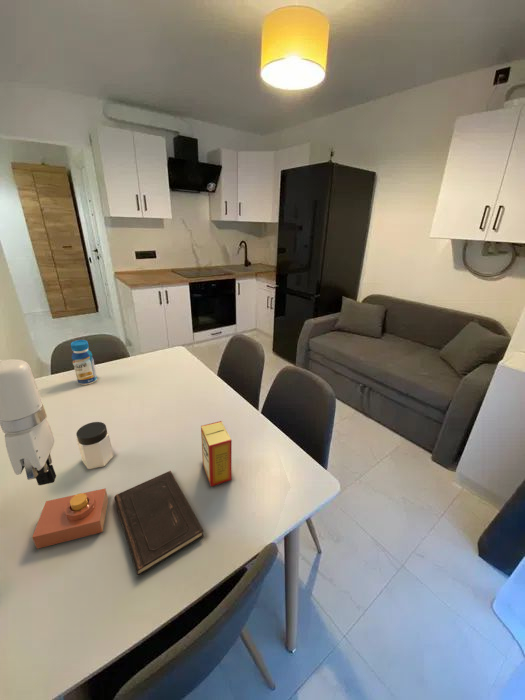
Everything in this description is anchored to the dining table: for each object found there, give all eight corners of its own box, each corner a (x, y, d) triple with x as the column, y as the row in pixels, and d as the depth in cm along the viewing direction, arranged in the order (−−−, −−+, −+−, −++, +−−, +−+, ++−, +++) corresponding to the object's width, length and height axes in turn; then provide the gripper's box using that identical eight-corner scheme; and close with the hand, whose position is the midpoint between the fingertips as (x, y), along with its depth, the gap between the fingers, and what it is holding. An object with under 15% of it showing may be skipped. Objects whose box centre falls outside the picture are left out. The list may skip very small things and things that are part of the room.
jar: (115, 447, 100) (109, 419, 95) (112, 465, 93) (105, 435, 88) (85, 453, 97) (77, 424, 92) (80, 471, 90) (71, 441, 85)
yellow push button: (69, 512, 71) (68, 507, 71) (73, 500, 74) (71, 494, 74) (86, 509, 72) (84, 503, 72) (89, 497, 76) (87, 491, 75)
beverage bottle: (101, 378, 142) (94, 340, 134) (88, 386, 134) (79, 347, 126) (87, 375, 143) (78, 338, 135) (73, 383, 136) (63, 344, 128)
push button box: (36, 548, 69) (29, 532, 66) (50, 512, 77) (44, 496, 75) (102, 532, 73) (98, 515, 71) (108, 498, 82) (104, 483, 79)
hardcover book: (171, 475, 90) (170, 470, 89) (203, 536, 73) (203, 530, 72) (115, 501, 81) (113, 495, 80) (137, 577, 64) (136, 570, 63)
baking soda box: (231, 479, 90) (231, 439, 83) (210, 486, 87) (209, 445, 80) (222, 458, 97) (221, 419, 91) (202, 464, 95) (200, 424, 88)
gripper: (16, 400, 66) (40, 461, 73) (-18, 445, 53) (15, 513, 60) (55, 395, 68) (73, 455, 75) (31, 436, 55) (56, 504, 63)
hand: (47, 481), depth 68 cm, fingers closed
